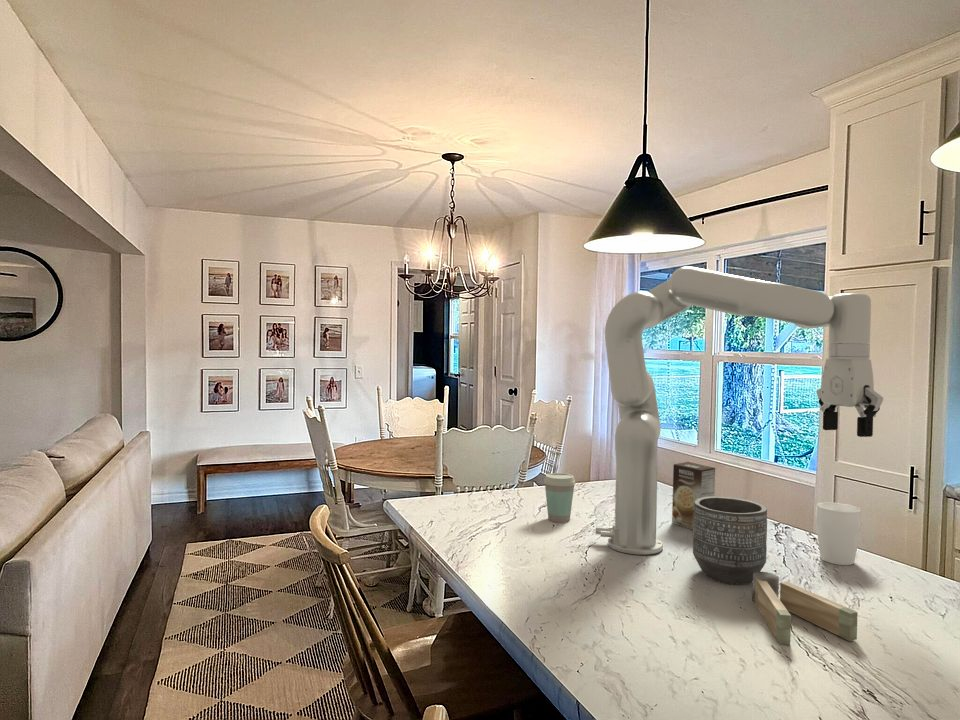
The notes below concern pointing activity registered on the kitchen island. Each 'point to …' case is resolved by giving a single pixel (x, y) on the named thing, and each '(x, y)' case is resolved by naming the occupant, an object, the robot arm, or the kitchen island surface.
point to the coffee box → (690, 490)
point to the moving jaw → (819, 610)
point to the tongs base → (771, 605)
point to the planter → (729, 538)
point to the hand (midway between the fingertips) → (846, 433)
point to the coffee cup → (559, 496)
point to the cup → (838, 532)
